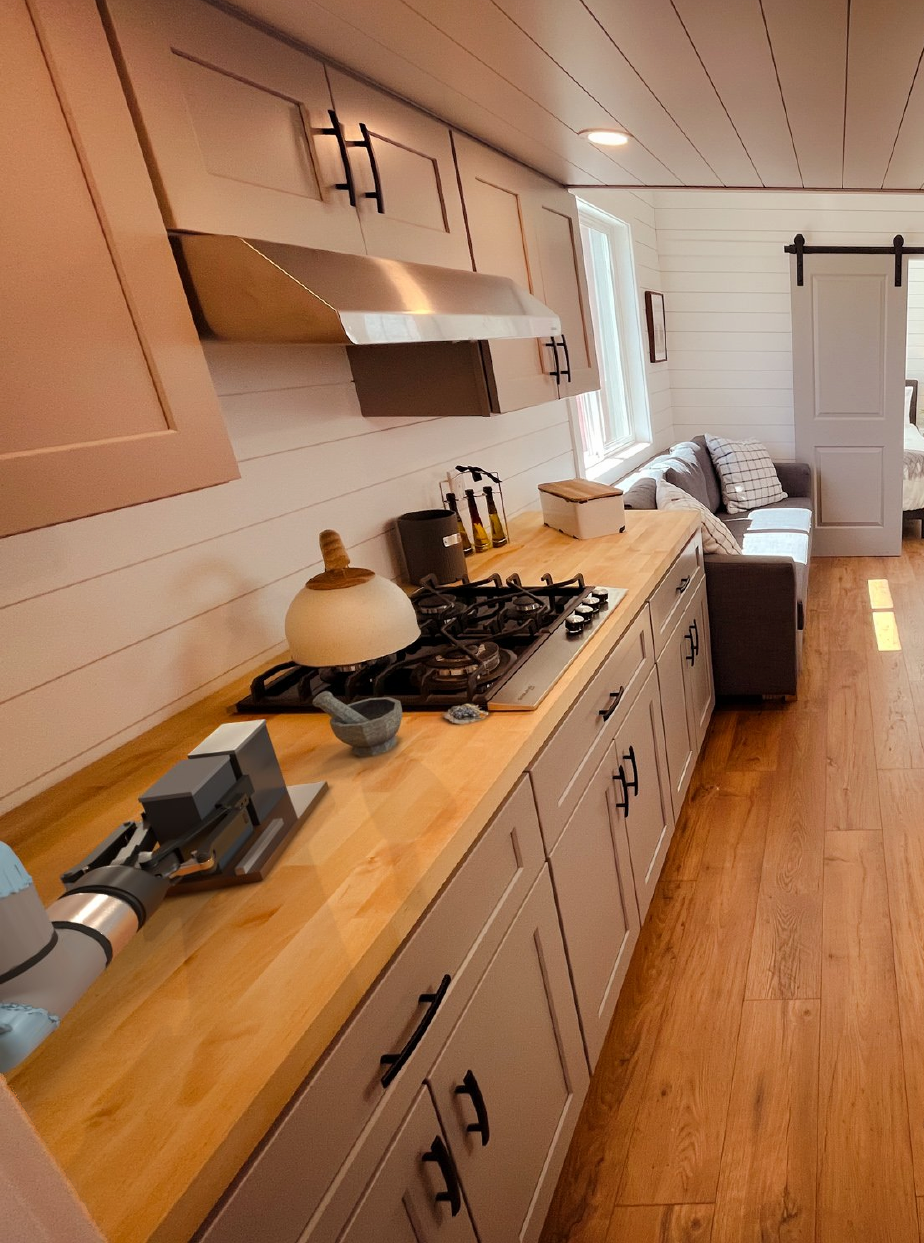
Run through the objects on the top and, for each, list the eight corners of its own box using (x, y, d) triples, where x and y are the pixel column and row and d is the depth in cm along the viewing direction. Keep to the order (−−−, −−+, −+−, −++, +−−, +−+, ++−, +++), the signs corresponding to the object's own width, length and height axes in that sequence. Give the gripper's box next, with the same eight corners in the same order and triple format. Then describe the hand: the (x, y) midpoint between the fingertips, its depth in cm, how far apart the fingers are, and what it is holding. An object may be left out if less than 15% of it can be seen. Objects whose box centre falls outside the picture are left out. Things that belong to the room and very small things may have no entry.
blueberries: (461, 704, 130) (459, 695, 129) (499, 708, 129) (497, 699, 128) (434, 722, 124) (432, 713, 123) (475, 727, 122) (473, 717, 122)
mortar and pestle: (401, 726, 122) (386, 665, 118) (416, 746, 116) (401, 683, 112) (324, 750, 115) (304, 686, 111) (336, 774, 109) (316, 706, 104)
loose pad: (172, 881, 85) (137, 798, 81) (210, 838, 92) (180, 760, 88) (222, 873, 86) (191, 791, 82) (256, 831, 94) (228, 754, 89)
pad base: (126, 903, 83) (84, 810, 79) (219, 803, 101) (189, 723, 97) (263, 881, 87) (231, 791, 82) (329, 788, 105) (305, 710, 100)
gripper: (-2, 965, 70) (149, 820, 91) (213, 928, 74) (309, 799, 95) (-35, 907, 67) (128, 772, 88) (190, 873, 72) (294, 752, 93)
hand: (222, 786), depth 92 cm, fingers closed on loose pad, 5 cm apart
